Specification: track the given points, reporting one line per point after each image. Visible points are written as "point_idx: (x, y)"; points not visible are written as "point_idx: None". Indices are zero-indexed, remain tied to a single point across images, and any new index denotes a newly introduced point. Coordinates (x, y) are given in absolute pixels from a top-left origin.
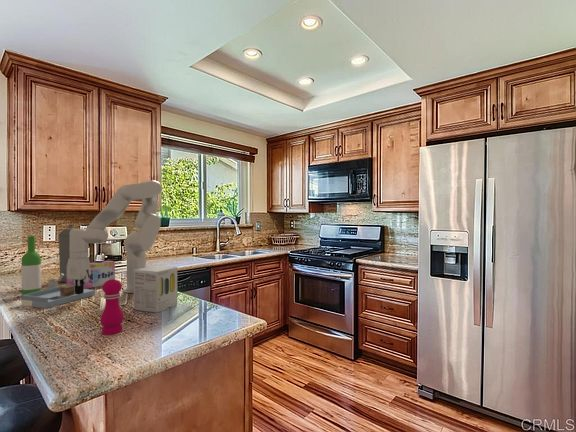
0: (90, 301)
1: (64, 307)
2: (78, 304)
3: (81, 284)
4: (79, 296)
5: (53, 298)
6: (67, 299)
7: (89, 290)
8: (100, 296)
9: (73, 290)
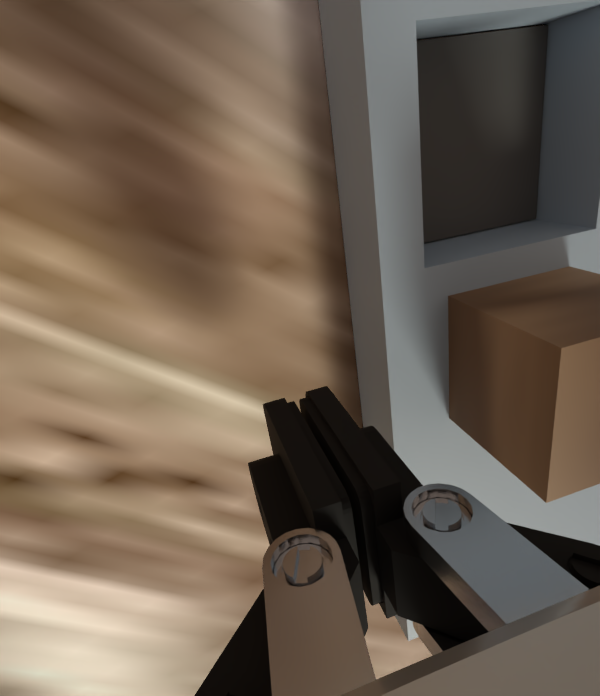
0: (114, 466)
1: (75, 60)
2: (82, 297)
3: (257, 618)
4: None
5: (581, 167)
6: (363, 268)
7: None
8: None
9: (490, 438)
